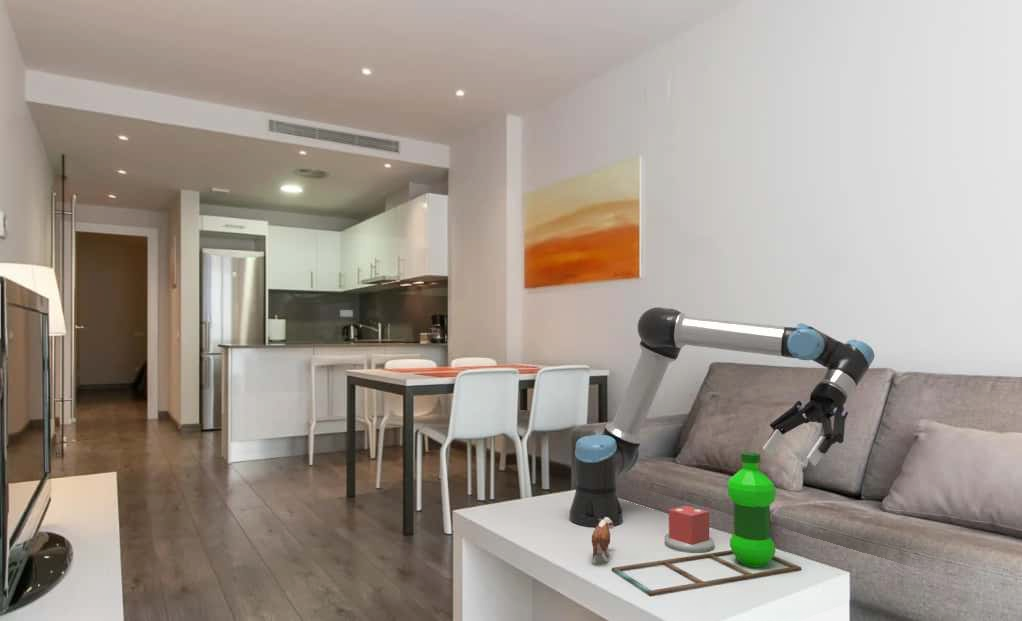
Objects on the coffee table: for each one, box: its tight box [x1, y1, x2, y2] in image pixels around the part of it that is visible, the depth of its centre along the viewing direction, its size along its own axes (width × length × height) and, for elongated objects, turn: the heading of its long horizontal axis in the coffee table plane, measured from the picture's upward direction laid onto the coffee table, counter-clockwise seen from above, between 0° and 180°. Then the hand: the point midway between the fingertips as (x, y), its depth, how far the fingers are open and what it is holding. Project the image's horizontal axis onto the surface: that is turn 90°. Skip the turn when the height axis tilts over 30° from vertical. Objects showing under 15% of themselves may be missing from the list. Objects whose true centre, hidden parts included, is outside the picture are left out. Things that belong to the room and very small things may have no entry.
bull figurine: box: [591, 517, 614, 565], centre depth 147 cm, size 4×13×8 cm, turn 161°
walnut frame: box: [611, 549, 802, 597], centre depth 138 cm, size 15×40×1 cm, turn 111°
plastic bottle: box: [726, 451, 777, 568], centre depth 144 cm, size 10×10×25 cm
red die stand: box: [664, 505, 715, 554], centre depth 156 cm, size 12×12×9 cm
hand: (787, 457), depth 148 cm, fingers open, 13 cm apart
